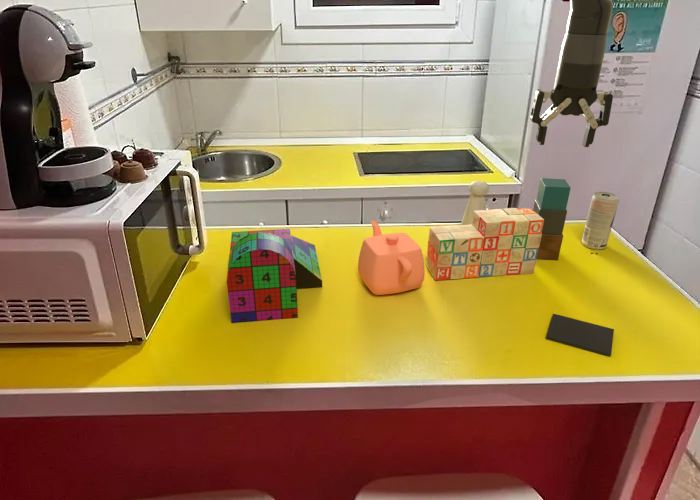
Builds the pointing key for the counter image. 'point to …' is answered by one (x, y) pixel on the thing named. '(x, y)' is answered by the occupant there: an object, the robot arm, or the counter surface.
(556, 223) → the charcoal middle block
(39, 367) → the counter surface
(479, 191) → the beige tapered round-topped piece
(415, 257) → the teapot
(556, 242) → the walnut base block
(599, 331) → the rubber mat
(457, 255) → the stack of blocks
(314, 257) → the checkered arched block
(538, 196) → the teal top block
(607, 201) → the energy drink
